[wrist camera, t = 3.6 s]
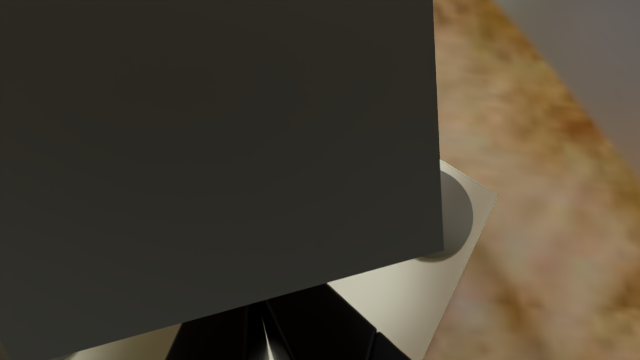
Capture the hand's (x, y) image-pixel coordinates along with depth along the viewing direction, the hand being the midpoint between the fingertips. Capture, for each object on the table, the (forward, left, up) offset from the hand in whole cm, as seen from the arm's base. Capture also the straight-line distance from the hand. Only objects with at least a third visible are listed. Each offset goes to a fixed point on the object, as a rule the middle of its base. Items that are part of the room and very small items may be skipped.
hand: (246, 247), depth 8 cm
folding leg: (+5, -4, -5) cm, 9 cm away
